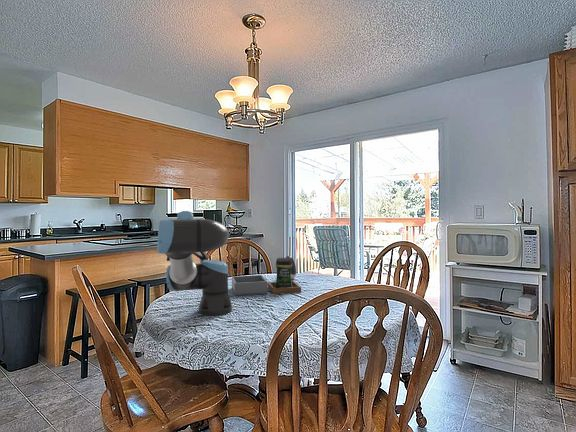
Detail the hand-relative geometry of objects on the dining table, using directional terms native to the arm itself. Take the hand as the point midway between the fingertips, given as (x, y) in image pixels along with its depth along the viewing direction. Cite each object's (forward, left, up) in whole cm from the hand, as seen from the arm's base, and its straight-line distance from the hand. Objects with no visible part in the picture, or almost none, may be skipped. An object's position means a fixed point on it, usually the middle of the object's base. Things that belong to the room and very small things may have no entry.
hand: (187, 268), depth 182 cm
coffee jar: (+1, -53, -16) cm, 56 cm away
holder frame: (+1, -53, -15) cm, 56 cm away
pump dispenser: (+29, -63, -16) cm, 71 cm away
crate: (+3, -33, -15) cm, 37 cm away
